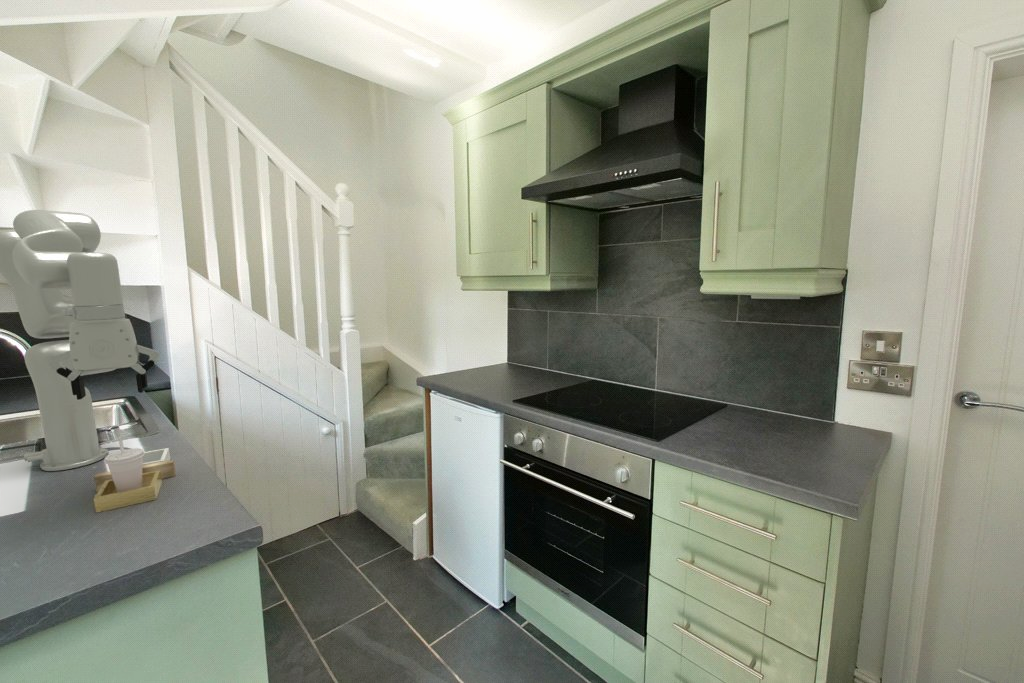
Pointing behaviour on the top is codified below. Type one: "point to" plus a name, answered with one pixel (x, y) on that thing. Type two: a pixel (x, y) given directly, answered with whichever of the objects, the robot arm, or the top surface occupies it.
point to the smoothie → (126, 467)
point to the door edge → (165, 468)
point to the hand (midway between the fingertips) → (112, 394)
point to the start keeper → (156, 456)
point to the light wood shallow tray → (128, 493)
